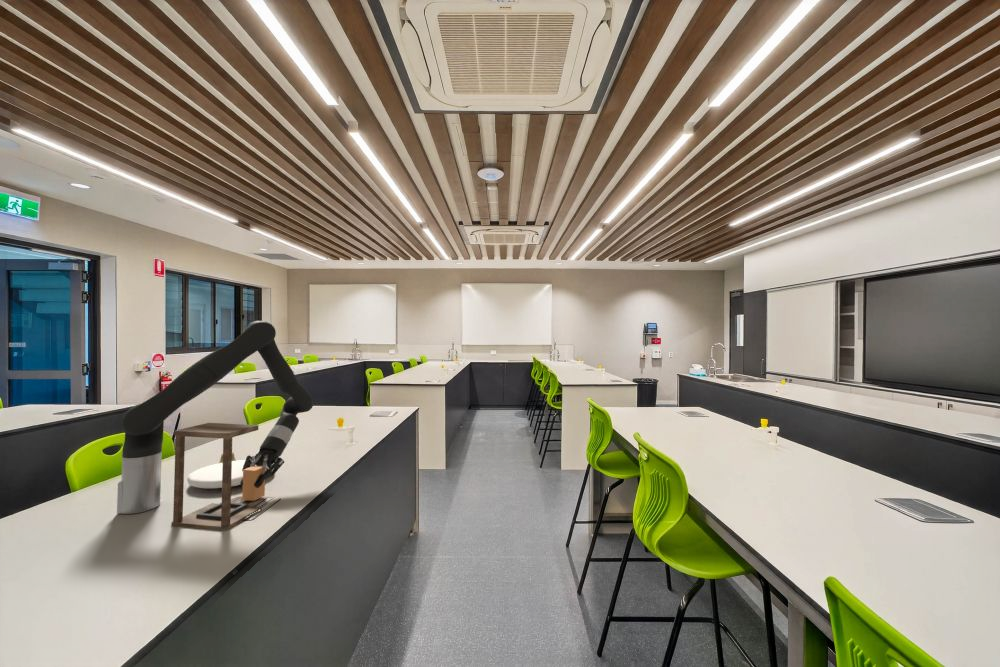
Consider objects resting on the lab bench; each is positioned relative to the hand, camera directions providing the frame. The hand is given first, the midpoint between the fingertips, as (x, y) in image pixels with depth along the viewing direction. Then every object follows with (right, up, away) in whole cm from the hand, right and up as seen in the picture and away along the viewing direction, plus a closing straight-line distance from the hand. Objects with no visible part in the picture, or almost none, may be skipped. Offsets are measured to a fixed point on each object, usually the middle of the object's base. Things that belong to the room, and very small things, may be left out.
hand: (249, 485), depth 126 cm
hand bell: (-33, -6, +35) cm, 49 cm away
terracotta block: (0, -5, +2) cm, 5 cm away
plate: (-19, -6, +19) cm, 28 cm away
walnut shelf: (-2, -5, -12) cm, 13 cm away
